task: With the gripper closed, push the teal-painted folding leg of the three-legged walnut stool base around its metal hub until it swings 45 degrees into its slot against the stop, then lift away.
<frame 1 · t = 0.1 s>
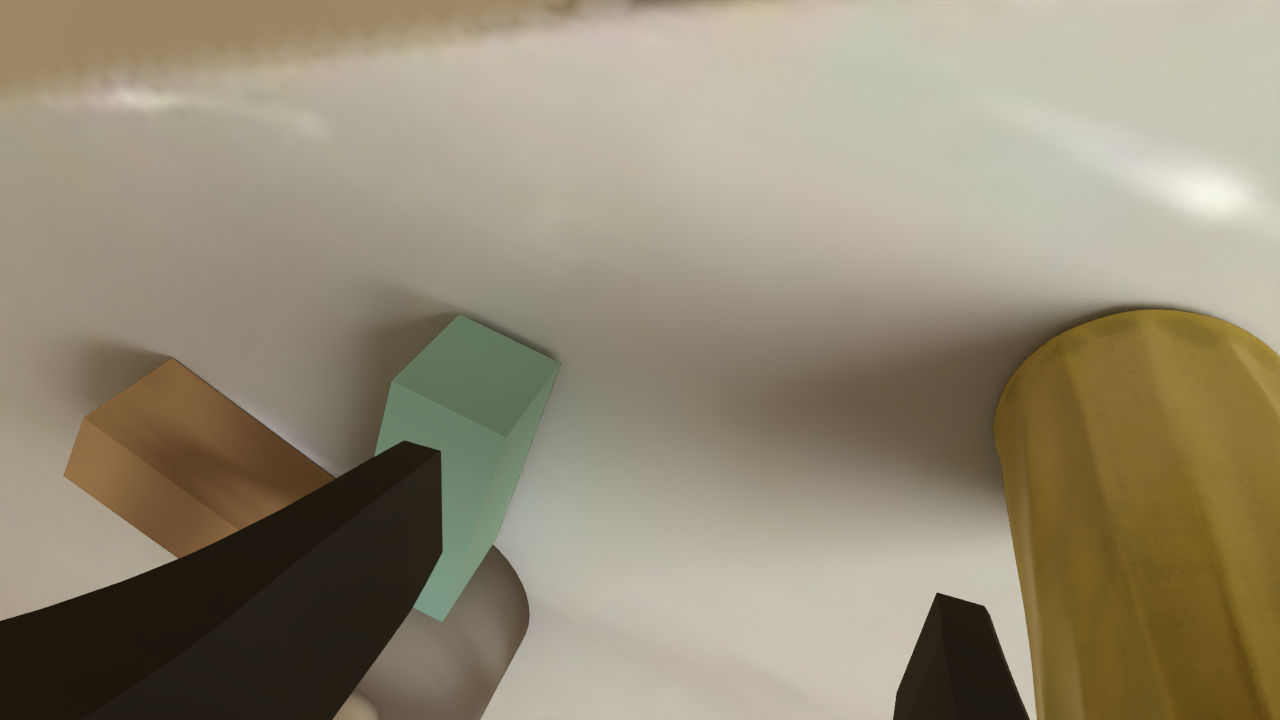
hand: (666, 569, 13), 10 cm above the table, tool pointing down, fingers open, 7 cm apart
vase: (1137, 421, 20), on the table
stool base: (432, 587, 30), on the table
folding leg: (450, 471, 24), point 2 cm above the table, hinge at 45.0°
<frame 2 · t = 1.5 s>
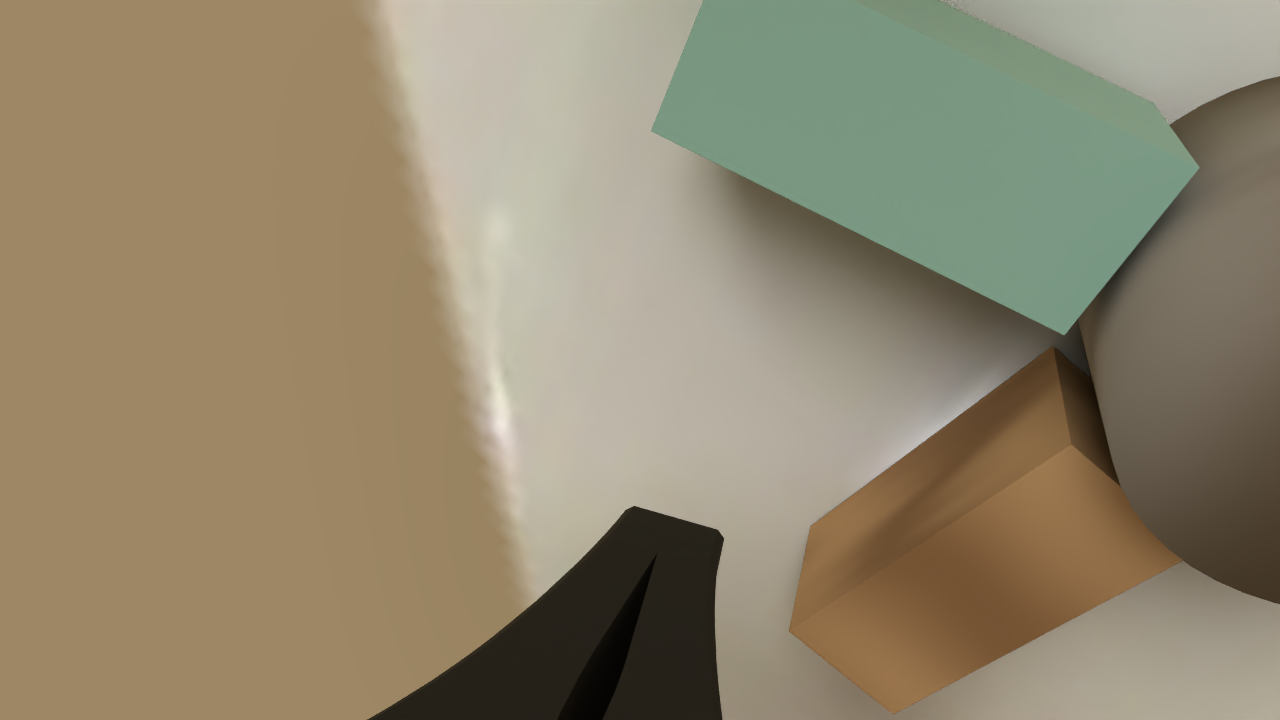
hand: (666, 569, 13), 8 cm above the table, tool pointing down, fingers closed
folding leg: (909, 116, 15), point 2 cm above the table, hinge at 45.0°
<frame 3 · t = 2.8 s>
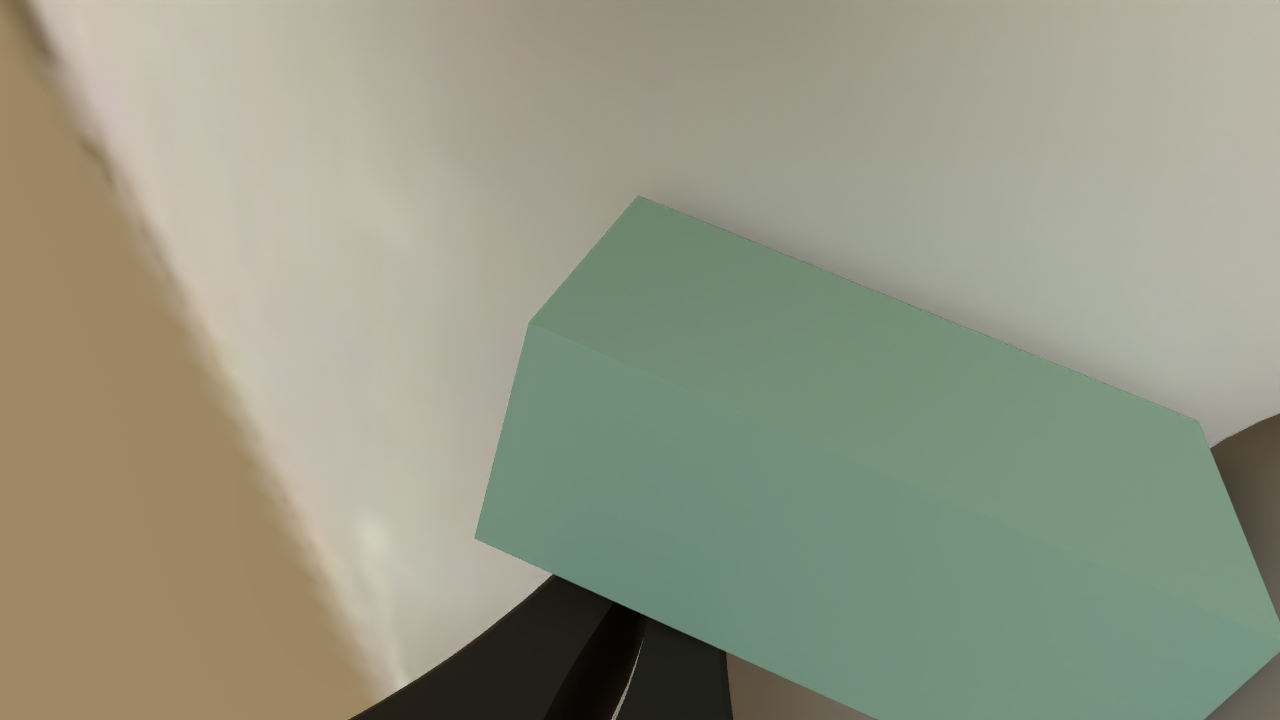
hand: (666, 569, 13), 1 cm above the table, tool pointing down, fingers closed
folding leg: (845, 478, 10), point 2 cm above the table, hinge at 43.9°, touching gripper
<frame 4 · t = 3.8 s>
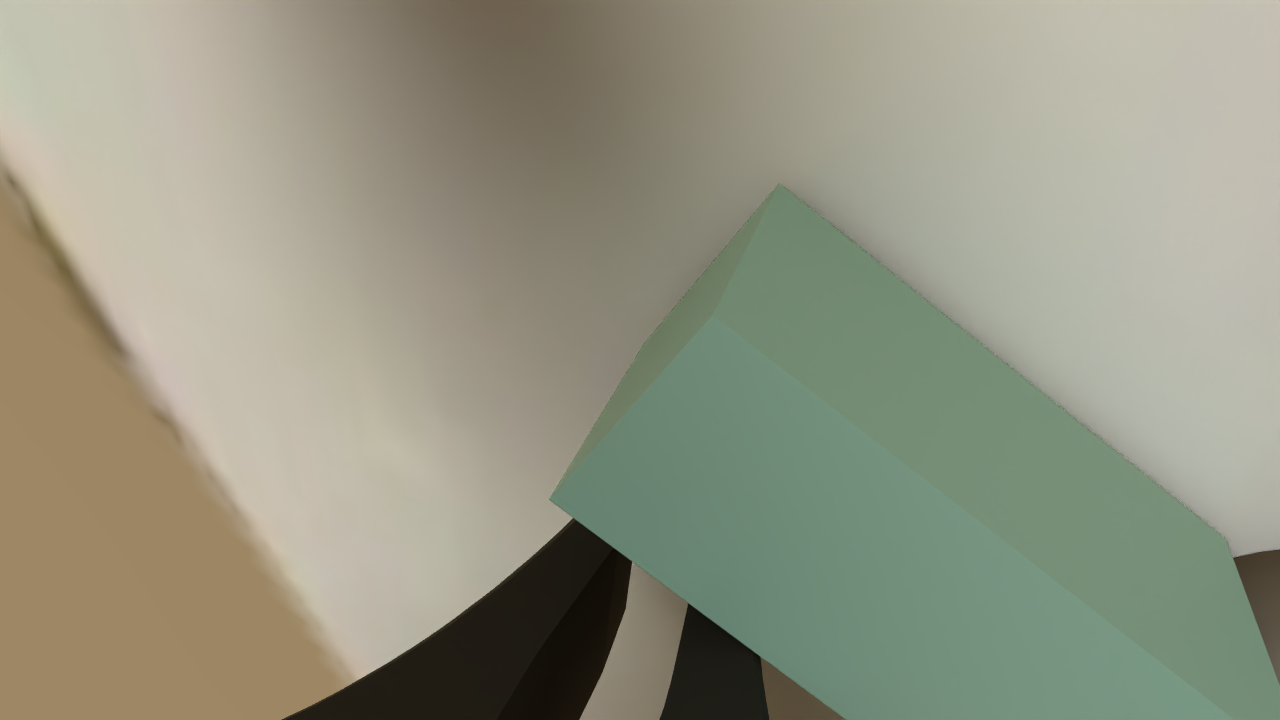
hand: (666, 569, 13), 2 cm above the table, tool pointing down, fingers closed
folding leg: (915, 520, 10), point 2 cm above the table, hinge at 18.3°, touching gripper
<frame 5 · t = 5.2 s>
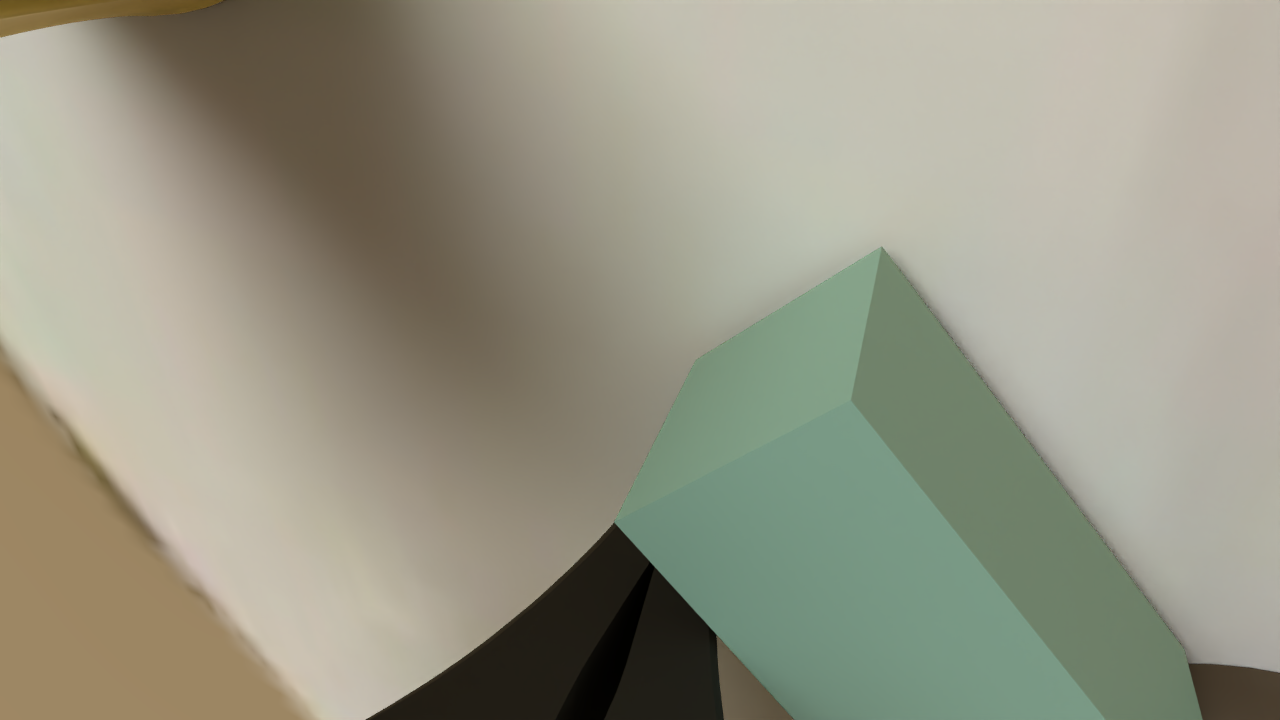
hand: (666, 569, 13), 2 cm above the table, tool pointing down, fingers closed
folding leg: (935, 594, 11), point 2 cm above the table, hinge at -2.9°, touching gripper
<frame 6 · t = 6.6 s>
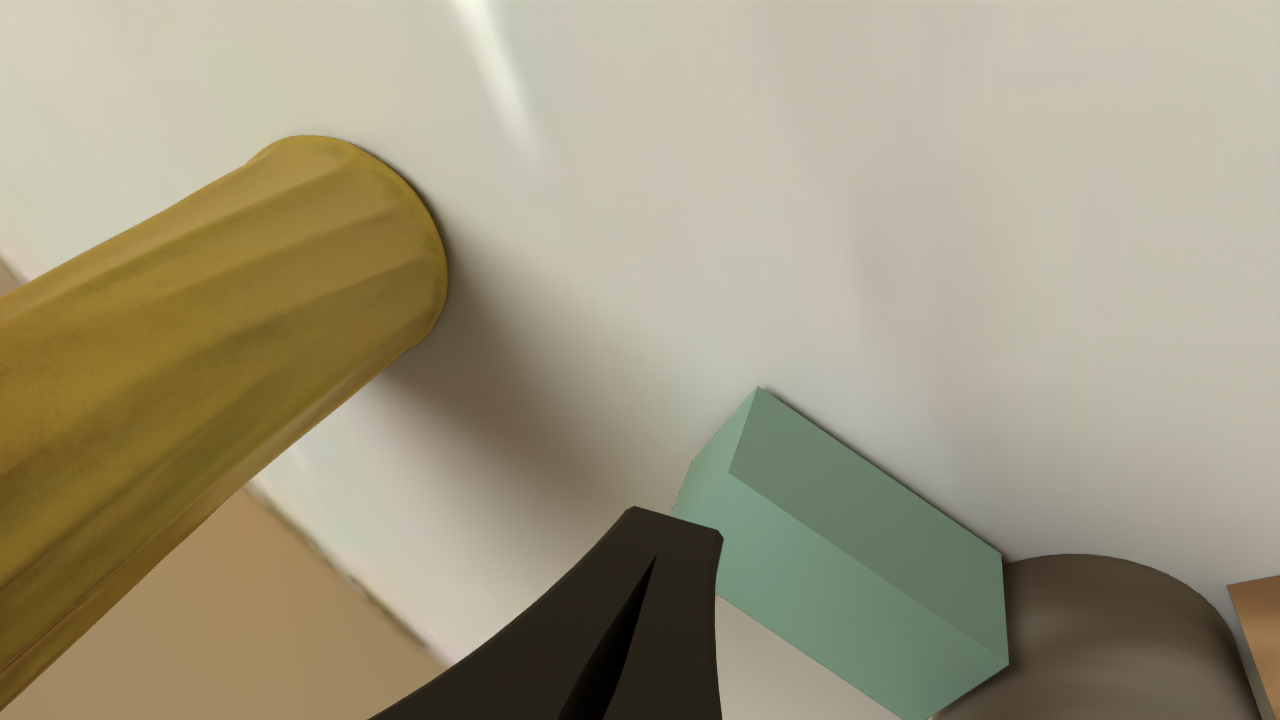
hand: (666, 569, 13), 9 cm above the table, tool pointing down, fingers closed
vase: (348, 246, 24), on the table
stool base: (1078, 660, 23), on the table
folding leg: (834, 553, 21), point 2 cm above the table, hinge at -2.7°
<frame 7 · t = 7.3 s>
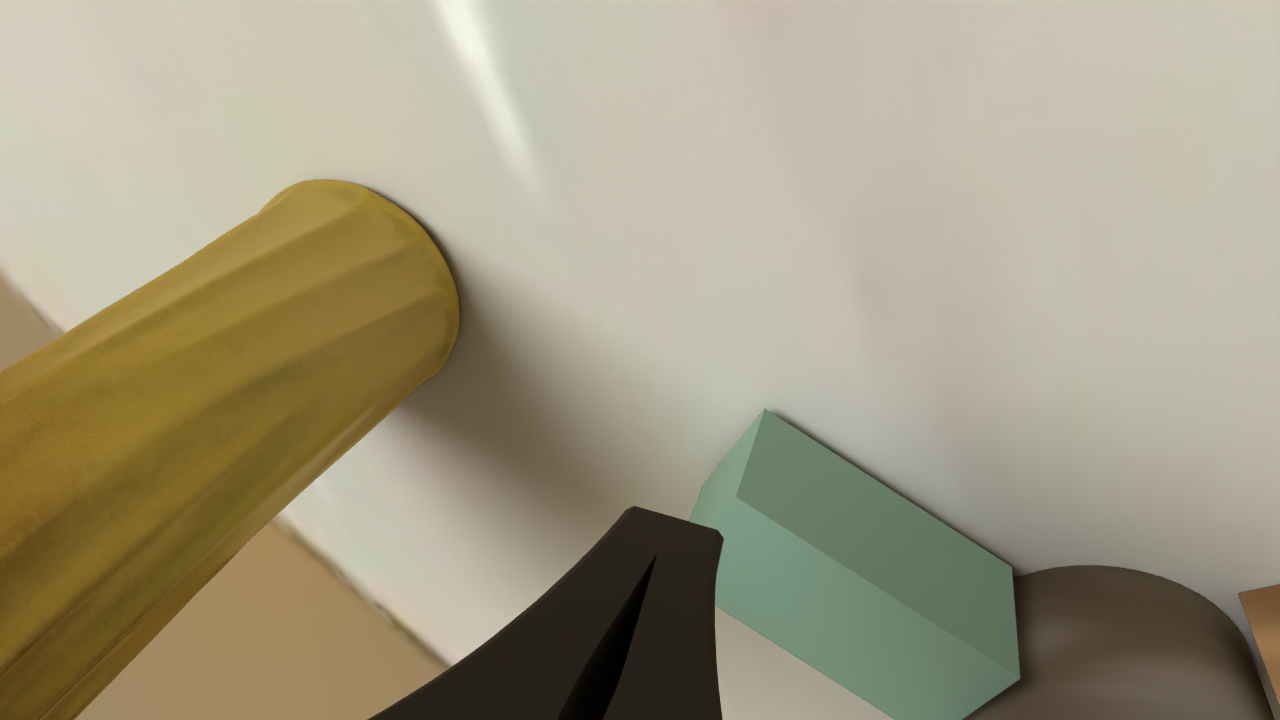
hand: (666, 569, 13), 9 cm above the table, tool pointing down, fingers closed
vase: (362, 284, 24), on the table
stool base: (1093, 670, 23), on the table
folding leg: (845, 571, 21), point 2 cm above the table, hinge at -2.7°
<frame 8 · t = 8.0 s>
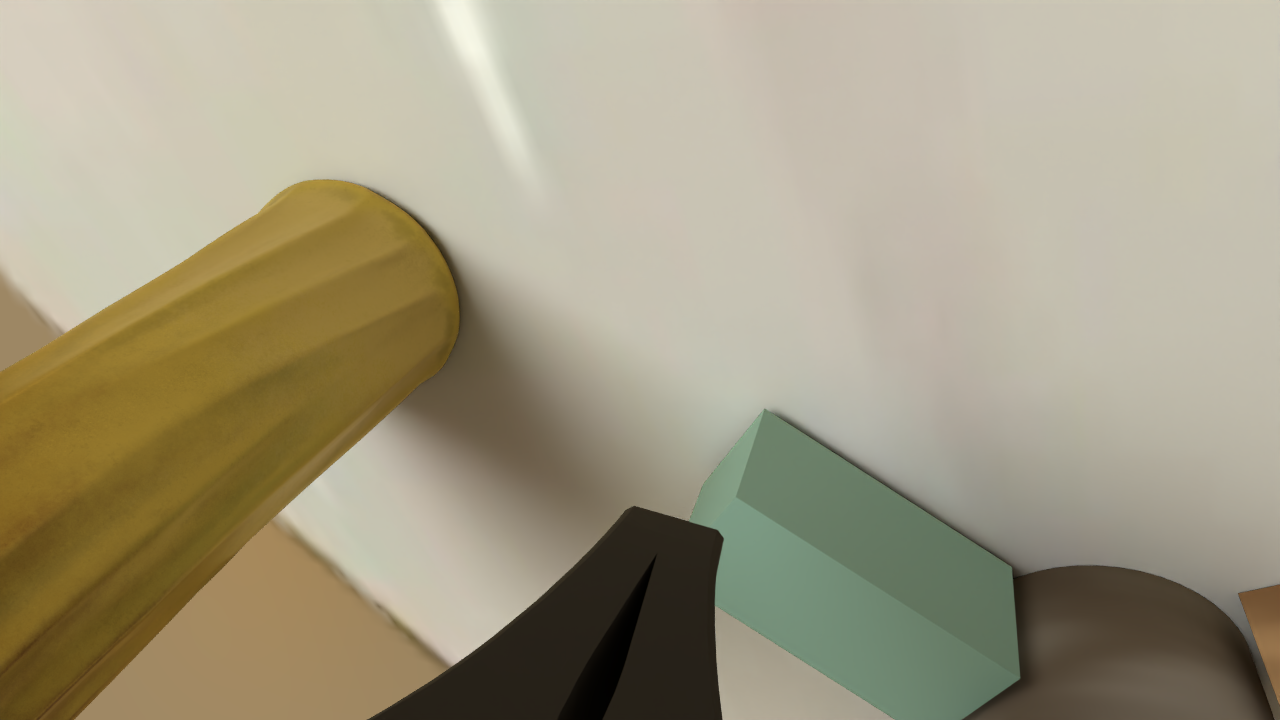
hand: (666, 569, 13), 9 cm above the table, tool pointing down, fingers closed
vase: (362, 284, 24), on the table
stool base: (1093, 670, 23), on the table
folding leg: (845, 571, 21), point 2 cm above the table, hinge at -2.7°
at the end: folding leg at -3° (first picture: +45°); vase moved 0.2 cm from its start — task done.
